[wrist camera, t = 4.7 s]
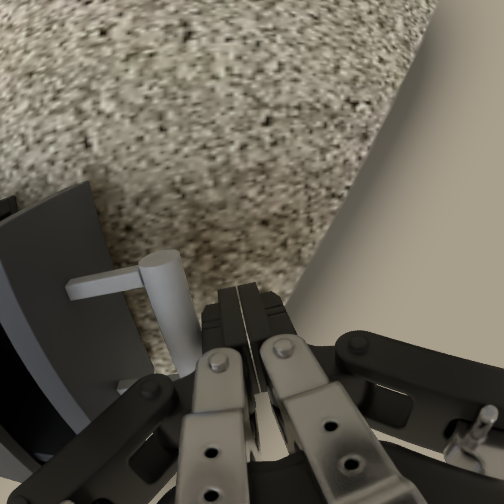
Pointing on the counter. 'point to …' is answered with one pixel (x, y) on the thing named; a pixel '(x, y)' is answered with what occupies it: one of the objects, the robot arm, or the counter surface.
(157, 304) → the cabinet drawer
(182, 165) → the counter surface
